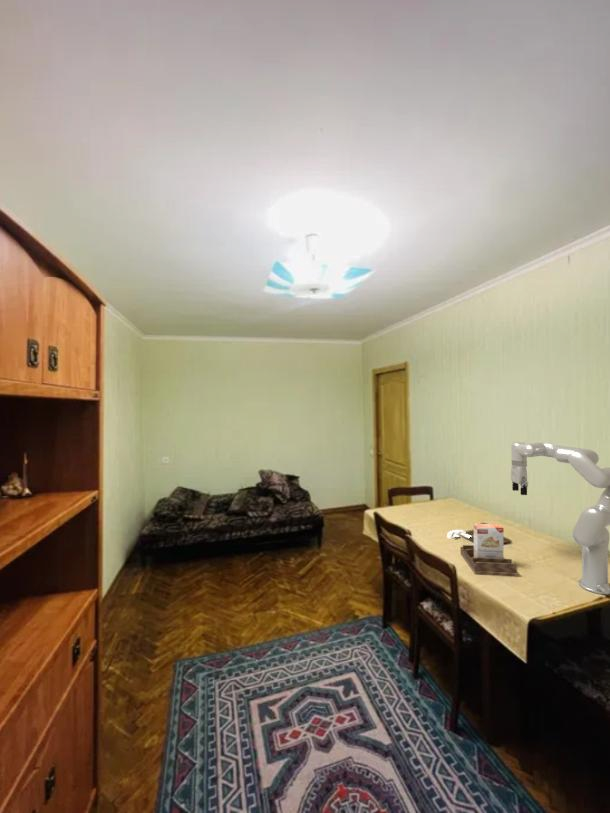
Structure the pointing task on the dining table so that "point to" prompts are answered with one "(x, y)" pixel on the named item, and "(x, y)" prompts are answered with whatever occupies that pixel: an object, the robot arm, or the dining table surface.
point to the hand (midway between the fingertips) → (519, 492)
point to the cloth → (455, 532)
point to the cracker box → (488, 541)
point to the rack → (488, 564)
